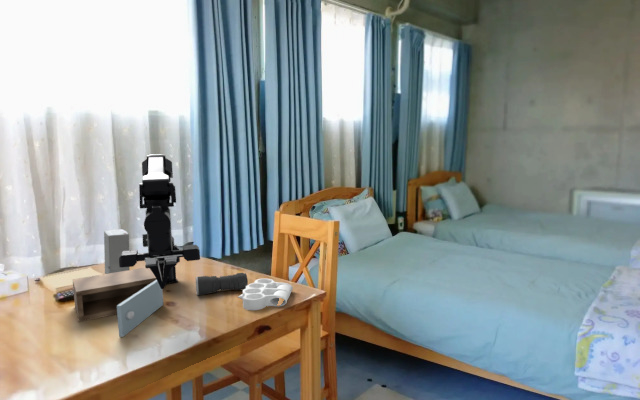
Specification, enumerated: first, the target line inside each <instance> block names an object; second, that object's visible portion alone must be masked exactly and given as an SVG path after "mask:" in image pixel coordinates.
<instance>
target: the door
mask: <svg viewBox="0 0 640 400" xmlns="http://www.w3.org/2000/svg"><path fill="white" fill-rule="evenodd" d="M163 290H164V289H161V288H160V285H159V283H158V281H157V280H155V281H153V282H152V283H150V284H149V285H147V286H146V287H144V288H143V289H141V290H140V291H138V292H137V293H135V294H134V295H132V296H131V297H129V298H128V299H126V300H125V301H123V302H122V303H120V304H119V305H117V314H116V315H117V328H118V337H120V338H121V337H123V338H124V337H125V336H126V335H127V334H128V333H130V332H132V331H133V330H134V329H135V328H137V326H138V325H140V324H142V322H143V321H145V320H146V319H147V318H148V317H150V316H151V315H152V314H154V313H155V312H156V311H157V310H159V308H161V307H162V306H164V294H163V293H164V292H163Z"/></svg>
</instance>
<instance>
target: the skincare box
mask: <svg viewBox="0 0 640 400" xmlns="http://www.w3.org/2000/svg"><path fill="white" fill-rule="evenodd" d="M103 236H104V237H103V240H104V243H103V245H104V250H103V251H104V274H109V273H115V272H121V271H127V270H130V267H119V257H120V254H121V253H122V252H123V251H129V250H130V235H129V233H128V231H127V230H124V229H122V228H121V229H108V230H107V229H106V230H103Z"/></svg>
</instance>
